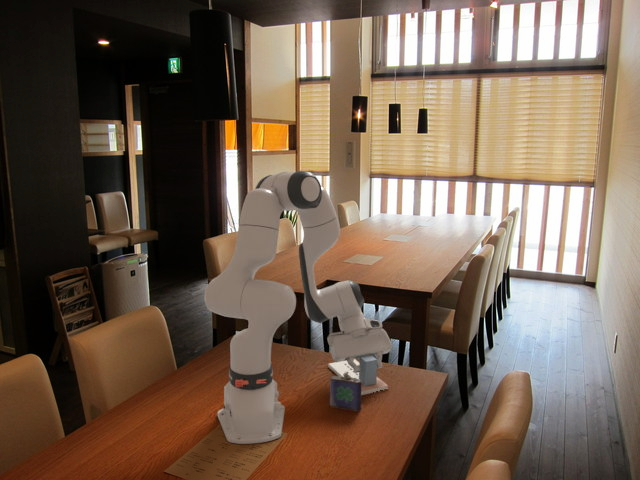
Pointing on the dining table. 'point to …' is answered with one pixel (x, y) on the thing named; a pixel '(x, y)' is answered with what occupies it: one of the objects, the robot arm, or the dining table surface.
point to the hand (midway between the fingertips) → (369, 369)
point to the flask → (345, 392)
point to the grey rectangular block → (368, 370)
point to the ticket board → (356, 376)
